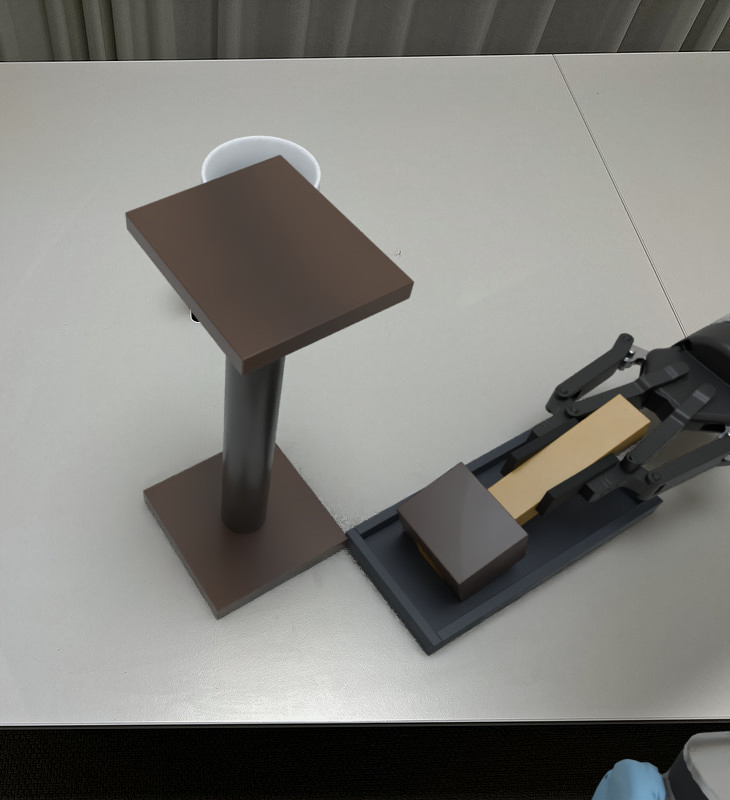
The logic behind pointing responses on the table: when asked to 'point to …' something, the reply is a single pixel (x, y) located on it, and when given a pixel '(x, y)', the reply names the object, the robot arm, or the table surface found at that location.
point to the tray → (545, 557)
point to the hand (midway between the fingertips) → (526, 484)
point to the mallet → (506, 500)
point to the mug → (258, 157)
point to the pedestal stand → (257, 363)
